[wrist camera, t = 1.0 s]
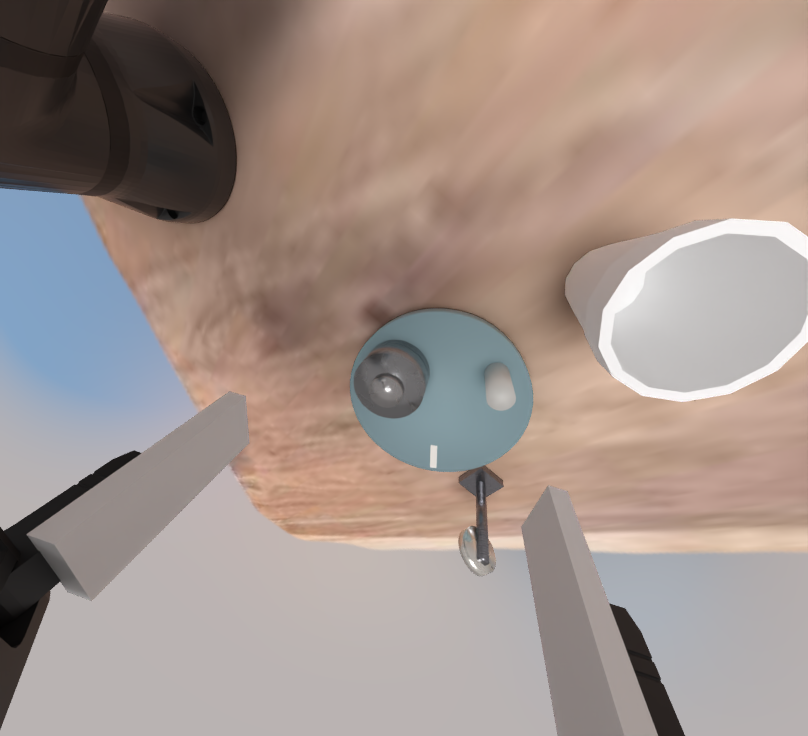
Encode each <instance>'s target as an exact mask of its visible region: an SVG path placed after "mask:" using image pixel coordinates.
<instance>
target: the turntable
mask: <svg viewBox="0 0 808 736" xmlns="http://www.w3.org/2000/svg"><path fill="white" fill-rule="evenodd" d="M388 340H402V341H406V342H408V343H411V344H412V345H414V346H416V347H417V348H418V349H419V350H420V351H421V352H422V353H423V354H424V356H425V357H426V359H427V361H428V364H429V369H430V376H429V380H428V384H427V387H426V390H425V393H424V397H423V400H422V402H421V404H420V406H419V407H418V409H417V410H416V411H414V412H413V413H412V414H410V415H408V416H406V417H402V418H395V419H392V418H385V417H381V416H378V415H376V414H374V413H372V412H371V411H369V410H368V409H367V408H366V407H365V406H364V405H363V404H362V403H361V402H360V400H359V399H358V397H357V395H356V393H355V389H354V375H355V372H356V370H357V368H358V366H359V365H360V364H361V362H362V361H363V360H364V359H365V358H366V357H367V355H368V354H369V353H370V352H371V351H372V350H373V349H374V348H375V347H376V346H377V345H378V344H380V343H382V342H384V341H388ZM350 394H351V401H352V404H353V408H354V411H355V413H356V416H357V418H358V420H359V422H360V424H361V425H362V427H363V429H364V430H365V431H366V433H367V434H368V435H369V437H370V438H371V439H372V440H373V441H374V442H375V443H376V444H377V445H378V446H380V447H381V448H382V449H383V450H384V451H386V452H387V453H389V454H390V455H391V456H393V457H395V458H397V459H399V460H400V461H403V462H405V463H407V464H409V465H412V466H415V467H418V468H422V469H426V470H431V471H439V472H457V471H465V470H471V469H474V468H478V467H481V466H484V465H486V464H488V463H491V462H493V461H494V460H496V459H498V458H500V457H501V456H502V455H504V454H505V453H506V452H508V451H509V450H510V449H511V448H512V447H513V446H514V445H515V444H516V443H517V442H518V440H519V439H520V438H521V436H522V435H523V433H524V431H525V429H526V427H527V426H528V423H529V420H530V417H531V413H532V407H533V390H532V383H531V380H530V377H529V373H528V370H527V368H526V365H525V363H524V361H523V359H522V357H521V355H520V353H519V351H518V350H517V348H516V347H515V346H514V344H513V343H512V342H511V341H510V339H509V338H508V337H507V336H506V335H505V334H504V333H503V332H501V331H500V330H499V329H498V328H496V327H495V326H494V325H492V324H490V323H489V322H487V321H485V320H484V319H482V318H479V317H477V316H475V315H472V314H470V313H466V312H463V311H459V310H453V309H446V308H430V309H421V310H417V311H413V312H409V313H406V314H404V315H401V316H399V317H396V318H395V319H393V320H391V321H390V322H388V323H386V324H385V325H384V326H383V327H381V328H380V329H379V330H378V331H377V332H376V333H375V334H374V335H373V336H372V337H371V338H370V339H369V340H368V341H367V342H366V343H365V345H364V346H363V348H362V349H361V350H360V352H359V354H358V356H357V358H356V360H355V362H354V365H353V369H352V373H351V379H350Z"/></svg>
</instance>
